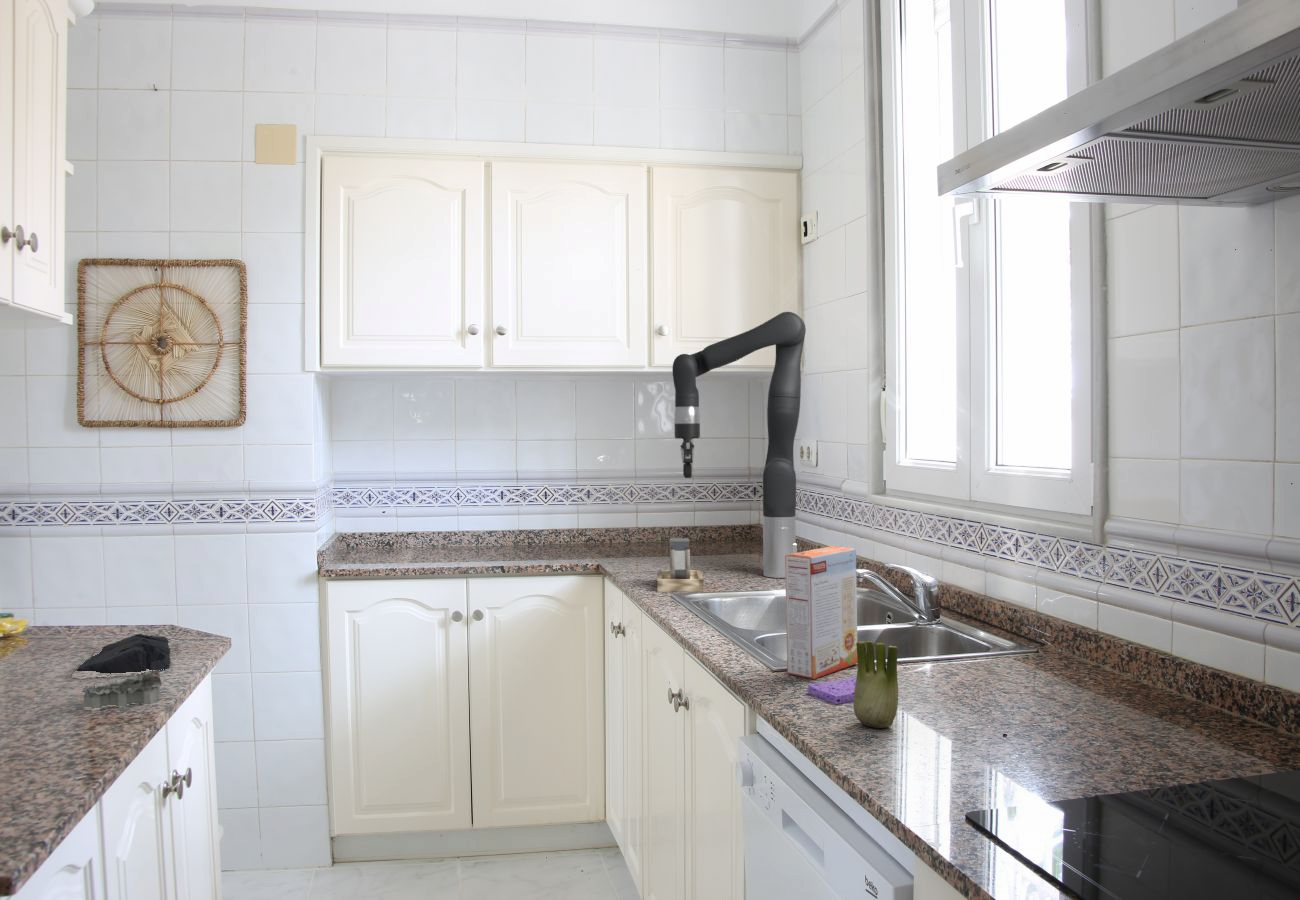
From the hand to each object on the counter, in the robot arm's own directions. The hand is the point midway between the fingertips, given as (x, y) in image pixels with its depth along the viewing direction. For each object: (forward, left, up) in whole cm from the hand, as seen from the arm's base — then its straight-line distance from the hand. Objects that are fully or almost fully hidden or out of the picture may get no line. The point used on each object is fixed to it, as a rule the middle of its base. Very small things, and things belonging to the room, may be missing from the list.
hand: (687, 477), depth 264 cm
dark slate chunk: (+107, +101, -29) cm, 150 cm away
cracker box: (-20, +108, -28) cm, 113 cm away
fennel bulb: (-22, +138, -28) cm, 143 cm away
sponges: (-22, +122, -29) cm, 127 cm away
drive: (+3, +24, -27) cm, 36 cm away
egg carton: (+93, +126, -29) cm, 159 cm away
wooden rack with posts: (+3, +24, -28) cm, 37 cm away
